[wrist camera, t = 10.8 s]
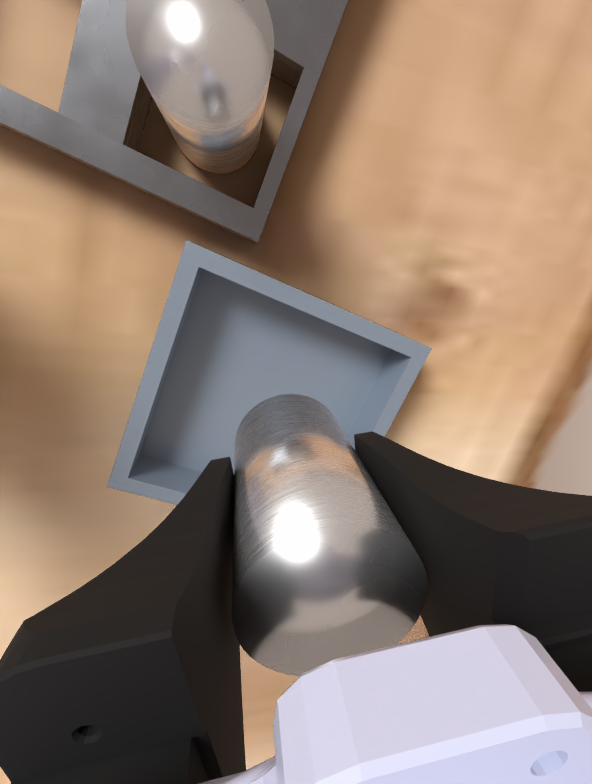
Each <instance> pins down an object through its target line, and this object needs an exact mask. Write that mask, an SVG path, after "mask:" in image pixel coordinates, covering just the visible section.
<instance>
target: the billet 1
mask: <svg viewBox="0 0 592 784" xmlns="http://www.w3.org/2000/svg"><path fill="white" fill-rule="evenodd" d="M125 18H126V32H127V38H128V43H129V47H130V51H131V54H132V57H133V59H134V62H135V65H136V67H137V69H138V71H139V73H140V75H141V77H142V78H143V80H144V82H145V84H146V86H147V88H148V90H149V92H150V93H151V95H152V97H153V99H154V101H155V103H156V105H157V107H158V109H159V110H160V112H161V114H162V116H163V118H164V120H165V122H166V124H167V125H168V127H169V129H170V131H171V133H172V135H173V137H174V139H175V141H176V142H177V144H178V146H179V148H180V149H181V151H182V152H183V154H184V155H185V156H186V157H187V158H188V159H189V160H190V161H191V162H192V163H193V164H195V165H196V166H198V167H199V168H201V169H203V170H205V171H208V172H212V173H229V172H232V171H235V170H237V169H239V168H241V167H242V166H243V165H245V164H246V163H247V162H248V161H249V160H250V158H251V157H252V156H253V154H254V152H255V150H256V148H257V145H258V142H259V138H260V132H261V126H262V121H263V115H264V109H265V104H266V98H267V92H268V86H269V81H270V75H271V69H272V63H273V57H274V31H273V25H272V20H271V16H270V12H269V8H268V6H267V3H266V0H127V3H126V16H125Z"/></svg>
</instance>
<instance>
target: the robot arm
mask: <svg viewBox="0 0 592 784" xmlns="http://www.w3.org/2000/svg"><path fill="white" fill-rule="evenodd" d="M354 441H355V452H356V453H357V455H358V457H359V458H360V460H361V462H362V463H363V465H364V466H365V468H366V470H367V471H368V473H369V475H370V476H371V478H372V480H373V481H374V483H375V485H376V486H377V488H378V490H379V491H380V493H381V494H382V496H383V498H384V499H385V501H386V503H387V504H388V506H389V508H390V509H391V511H392V513H393V514H394V516H395V518H396V519H397V521H398V523H399V524H400V526H401V527H402V529H403V531H404V532H405V534H406V536H407V537H408V539H409V541H410V542H411V544H412V546H413V547H414V549H415V551H416V552H417V554H418V556H419V557H420V559H421V561H422V563H423V565H424V568H425V571H426V576H427V595H426V600H425V604H424V606H423V609H422V612H421V614H420V615H421V617H422V619H423V622H424V624H425V627H426V629H427V631H428V634H429V636H430V637H427V638H423V639H419V640H415V641H410V642H406V643H402V644H398V645H394V646H389V647H385V648H381V649H377V650H372V651H368V652H364V653H360V654H356V655H351V656H347V657H343V658H339V659H334V660H332V661H329V662H327V663H325V664H323V665H320V666H318V667H316V668H313V669H311V670H309V671H306V672H304V673H303V674H302V675H301V676H300V677H299V678H298V679H297V680H296V681H295V682H294V683H293V684H292V685H291V686H290V687H289V688H288V689H287V690H286V691H285V692H284V693H283V694H282V696H281V697H280V698H279V699H278V700H277V706H276V711H275V717H274V722H273V731H274V744H275V756H274V757H272V758H270V759H268V760H266V761H264V762H262V763H260V764H258V765H256V766H254V767H252V768H250V769H248V770H246V763H245V747H244V729H243V710H242V691H241V669H240V644H239V642H238V640H237V638H236V635H235V633H234V629H233V625H232V570H233V512H234V473H233V468H232V463H231V458H230V457H225V458H220V459H214V460H211V461H210V462H209V463H208V465H207V466H206V467H205V469H204V470H203V472H202V473H201V475H200V476H199V477H198V479H197V480H196V482H195V483H194V484H193V486H192V487H191V488H190V490H189V491H188V492H187V494H186V495H185V496H184V498H183V499H182V500H181V501H180V502H179V504H178V505H177V506H176V507H175V508H174V509H173V511H172V512H171V513H170V514H169V515H168V516H167V517H166V518H165V520H164V521H163V522H162V523H161V524H160V525H159V526H158V527H157V528H156V529H155V530H153V531H152V532H151V533H150V534H149V535H148V536H147V537H146V538H145V539H144V540H143V541H142V542H140V543H139V544H138V545H137V546H136V547H134V548H133V549H132V550H131V551H129V552H128V553H127V554H126V555H125V556H123V557H122V558H121V559H120V560H118V561H117V562H116V563H115V564H113V565H112V566H111V567H109V568H108V569H106V570H105V571H104V572H102V573H101V574H99V575H98V576H97V577H95V578H94V579H92V580H91V581H89V582H88V583H86V584H85V585H83V586H82V587H80V588H79V589H77V590H76V591H74V592H72V593H71V594H69V595H68V596H66V597H64V598H63V599H61V600H59V601H57V602H56V603H54V604H52V605H51V606H49V607H47V608H46V609H44V610H42V611H40V612H39V613H37V614H35V615H34V616H32V617H30V618H28V619H26V620H25V621H24V622H23V623H22V625H21V626H20V628H19V630H18V631H17V633H16V634H15V636H14V638H13V639H12V641H11V643H10V644H9V646H8V648H7V649H6V651H5V653H4V654H3V656H2V658H1V659H0V767H1V768H2V770H3V771H4V772H5V774H6V775H7V777H8V778H9V780H10V781H11V784H592V496H586V495H576V494H566V493H558V492H551V491H545V490H539V489H533V488H527V487H522V486H517V485H512V484H508V483H503V482H499V481H495V480H491V479H487V478H483V477H480V476H476V475H473V474H470V473H467V472H464V471H461V470H457V469H454V468H452V467H449V466H446V465H444V464H441V463H439V462H436V461H434V460H432V459H429V458H427V457H425V456H422V455H420V454H418V453H416V452H414V451H412V450H409V449H407V448H405V447H403V446H401V445H399V444H397V443H395V442H393V441H391V440H389V439H388V438H386V437H384V436H382V435H379V434H377V433H375V432H372V431H371V432H365V433H360V434H354Z"/></svg>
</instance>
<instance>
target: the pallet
mask: <svg viewBox="0 0 592 784" xmlns="http://www.w3.org/2000/svg"><path fill="white" fill-rule="evenodd" d="M347 2H348V0H266V3H267V6H268V8H269V12H270V16H271V20H272V25H273V31H274V57H273V63H272V69H271V74H273V75H275V76H276V77H278V78H280V79H281V80H283V81H285V82H286V83H288V84H290V85H292V86H293V87H295V88H297V89H296V91H295V94H294V97H293V100H292V102H291V105H290V108H289V111H288V114H287V116H286V119H285V122H284V125H283V127H282V130H281V133H280V136H279V139H278V141H277V144H276V147H275V150H274V152H273V155H272V158H271V161H270V164H269V166H268V169H267V172H266V175H265V177H264V180H263V183H262V186H261V189H260V191H259V194H258V197H257V200H256V203H255V205H254V208H252V207H250V206H248V205H246V204H244V203H242V202H240V201H238V200H236V199H234V198H232V197H230V196H227V195H225V194H223V193H221V192H219V191H217V190H215V189H213V188H211V187H209V186H207V185H205V184H203V183H201V182H199V181H197V180H195V179H193V178H191V177H188V176H186V175H184V174H182V173H180V172H178V171H176V170H174V169H172V168H170V167H168V166H166V165H164V164H162V163H160V162H158V161H156V160H154V159H152V158H150V157H147V156H145V155H143V154H141V153H139V152H137V150H138V146H139V142H140V139H141V135H142V131H143V127H144V124H145V120H146V116H147V113H148V109H149V105H150V102H151V98H152V95H151V93H150V92H149V90H148V88H147V86H146V84H145V82H144V80H143V78H142V77H141V75H140V73H139V71H138V69H137V67H136V65H135V62H134V59H133V57H132V54H131V51H130V47H129V43H128V38H127V32H126V18H125V16H126V3H127V0H82V4H81V9H80V14H79V19H78V23H77V28H76V33H75V37H74V42H73V47H72V52H71V56H70V61H69V66H68V70H67V75H66V80H65V85H64V89H63V94H62V99H61V103H60V108H59V113H57V112H55V111H53V110H51V109H49V108H47V107H45V106H43V105H41V104H39V103H37V102H35V101H33V100H31V99H28V98H26V97H24V96H22V95H20V94H18V93H16V92H14V91H12V90H10V89H8V88H6V87H4V86H2V85H0V125H1V126H3V127H5V128H7V129H9V130H12V131H14V132H16V133H18V134H20V135H22V136H25V137H27V138H29V139H31V140H33V141H35V142H38V143H40V144H42V145H44V146H46V147H48V148H51V149H53V150H55V151H57V152H59V153H61V154H64V155H66V156H68V157H70V158H72V159H74V160H76V161H79V162H81V163H83V164H85V165H87V166H89V167H92V168H94V169H96V170H98V171H100V172H102V173H105V174H107V175H109V176H111V177H113V178H115V179H118V180H120V181H122V182H124V183H126V184H128V185H131V186H133V187H135V188H137V189H139V190H141V191H144V192H146V193H148V194H150V195H152V196H154V197H157V198H159V199H161V200H163V201H165V202H167V203H170V204H172V205H174V206H176V207H178V208H180V209H183V210H185V211H187V212H189V213H191V214H193V215H196V216H198V217H200V218H202V219H204V220H206V221H208V222H211V223H213V224H215V225H217V226H219V227H221V228H224V229H226V230H228V231H230V232H232V233H234V234H237V235H239V236H241V237H243V238H245V239H247V240H250V241H252V242H254V243H258V241H259V239H260V236H261V233H262V231H263V228H264V225H265V223H266V220H267V217H268V215H269V212H270V209H271V206H272V204H273V201H274V198H275V196H276V193H277V190H278V188H279V185H280V182H281V180H282V177H283V174H284V172H285V169H286V166H287V163H288V161H289V158H290V155H291V153H292V150H293V147H294V145H295V142H296V139H297V137H298V134H299V131H300V128H301V126H302V123H303V120H304V118H305V115H306V112H307V110H308V107H309V104H310V102H311V99H312V96H313V93H314V91H315V88H316V85H317V83H318V80H319V77H320V75H321V72H322V69H323V67H324V64H325V61H326V59H327V56H328V53H329V50H330V48H331V45H332V42H333V40H334V37H335V34H336V32H337V29H338V26H339V24H340V21H341V18H342V15H343V13H344V10H345V7H346V5H347Z"/></svg>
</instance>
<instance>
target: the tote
mask: <svg viewBox="0 0 592 784" xmlns="http://www.w3.org/2000/svg"><path fill="white" fill-rule="evenodd" d="M431 349H432V348H429V347H427V346H425V345H423V344H421V343H419V342H416V341H414V340H412V339H410V338H408V337H406V336H403V335H401V334H399V333H397V332H394V331H392V330H390V329H388V328H385V327H383V326H381V325H379V324H376V323H374V322H372V321H369V320H367V319H365V318H363V317H360V316H358V315H356V314H354V313H351V312H349V311H347V310H345V309H342V308H340V307H338V306H336V305H333V304H331V303H329V302H326V301H324V300H322V299H320V298H317V297H315V296H313V295H311V294H308V293H306V292H304V291H302V290H299V289H297V288H295V287H293V286H290V285H288V284H286V283H284V282H281V281H279V280H277V279H274V278H272V277H270V276H268V275H265V274H263V273H261V272H259V271H256V270H254V269H252V268H250V267H247V266H245V265H243V264H241V263H238V262H236V261H234V260H231V259H229V258H227V257H225V256H222V255H220V254H218V253H216V252H213V251H211V250H209V249H207V248H204V247H202V246H200V245H198V244H195V243H193V242H190V241H187V240H186V243H185V246H184V249H183V252H182V255H181V258H180V261H179V264H178V268H177V271H176V274H175V277H174V280H173V283H172V286H171V289H170V293H169V296H168V299H167V302H166V305H165V308H164V311H163V314H162V317H161V321H160V324H159V327H158V330H157V333H156V336H155V339H154V342H153V346H152V349H151V352H150V355H149V358H148V361H147V364H146V367H145V370H144V374H143V377H142V380H141V383H140V386H139V389H138V392H137V395H136V398H135V402H134V405H133V408H132V411H131V414H130V417H129V420H128V423H127V427H126V430H125V433H124V436H123V439H122V442H121V445H120V448H119V451H118V455H117V458H116V461H115V464H114V467H113V470H112V473H111V476H110V480H109V483H108V486H107V487H109V488H113V489H117V490H121V491H125V492H129V493H133V494H137V495H141V496H145V497H149V498H153V499H157V500H161V501H165V502H169V503H173V504H177V505H178V504H179V502H180V501H181V500H182V499H183V498H184V496H185V495H186V494H187V492H188V491H189V490H190V488H191V487H192V486H193V484H194V483H195V482H196V480H197V479H198V477H199V476H200V475H201V473H202V472H203V470H204V469H205V467H206V466H207V465H208V463H209V462H210V461H211V460H214V459H220V458H225V457H230V458H231V463H232V468H233V473H234V455H235V436H236V433H237V429H238V427H239V425H240V423H241V421H242V420H243V418H244V417H245V416H246V414H247V413H248V412H249V411H250V410H251V409H252V408H253V407H255V406H256V405H257V404H259V403H261V402H262V401H264V400H266V399H269V398H271V397H274V396H278V395H284V394H299V395H304V396H308V397H311V398H313V399H315V400H317V401H319V402H321V403H322V404H323V405H325V406H326V407H327V408H328V409H329V410H330V411H331V413H332V414H333V415H334V417H335V419H336V420H337V422H338V424H339V425H340V427H341V429H342V430H343V432H344V433H345V435H346V437H347V438H348V440H349V442H350V443H351V445H352V447H353V448H354V450H355V441H354V434H360V433H365V432H371V431H372V432H375V433H377V434H379V435H382V436H384V437H385V435H386V434H387V432H388V430H389V428H390V426H391V424H392V422H393V420H394V419H395V417H396V415H397V413H398V411H399V409H400V407H401V405H402V404H403V402H404V400H405V398H406V396H407V394H408V392H409V390H410V389H411V387H412V385H413V383H414V381H415V379H416V377H417V375H418V374H419V372H420V370H421V368H422V366H423V364H424V362H425V360H426V359H427V357H428V355H429V353H430V351H431Z"/></svg>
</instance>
